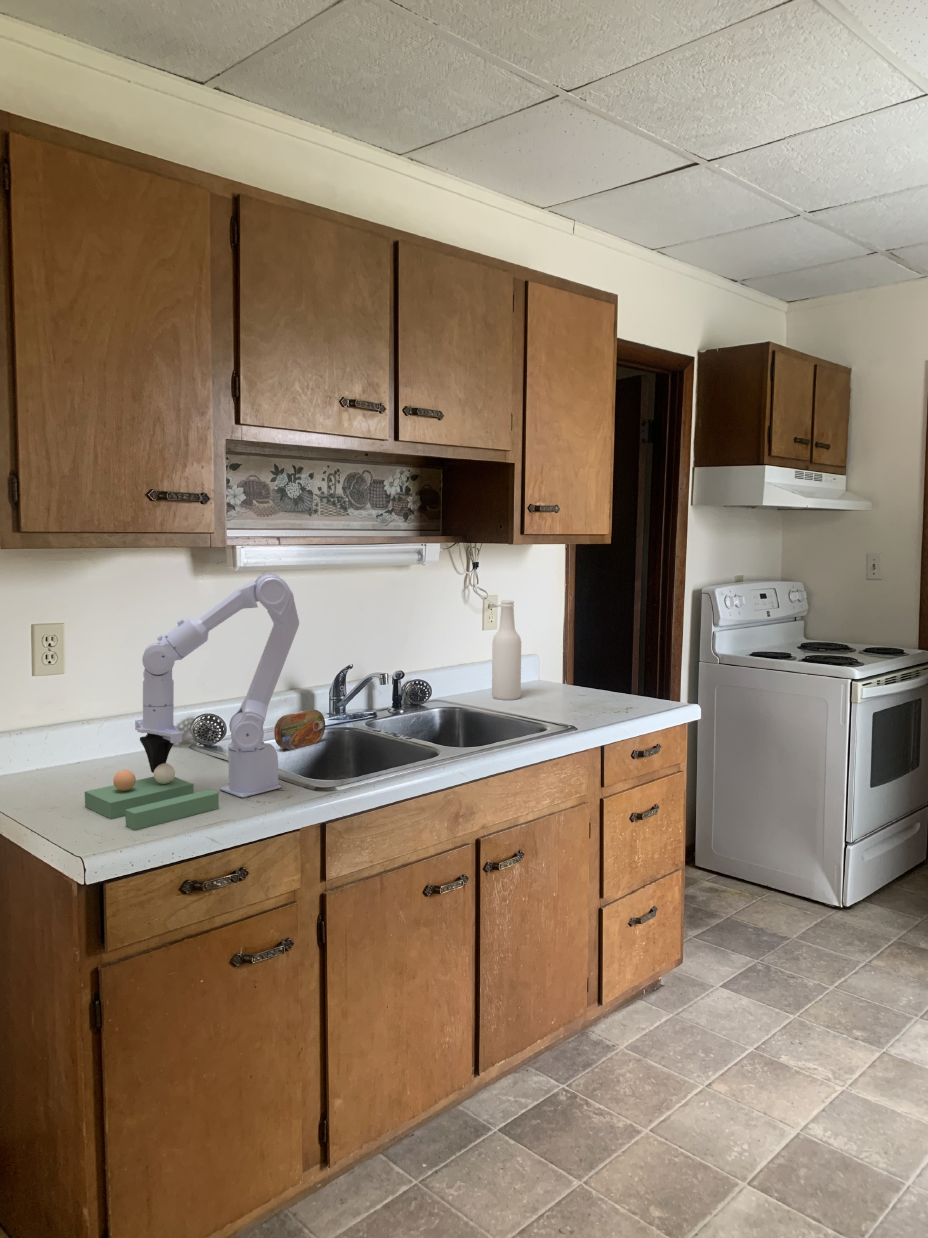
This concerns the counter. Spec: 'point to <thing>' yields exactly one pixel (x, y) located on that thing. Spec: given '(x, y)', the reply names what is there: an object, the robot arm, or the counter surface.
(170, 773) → the ivory ball
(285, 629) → the robot arm
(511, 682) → the alcohol
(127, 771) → the terracotta ball
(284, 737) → the tin
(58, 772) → the counter surface
